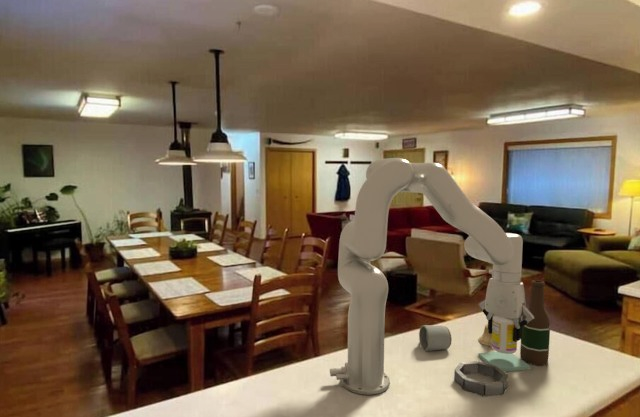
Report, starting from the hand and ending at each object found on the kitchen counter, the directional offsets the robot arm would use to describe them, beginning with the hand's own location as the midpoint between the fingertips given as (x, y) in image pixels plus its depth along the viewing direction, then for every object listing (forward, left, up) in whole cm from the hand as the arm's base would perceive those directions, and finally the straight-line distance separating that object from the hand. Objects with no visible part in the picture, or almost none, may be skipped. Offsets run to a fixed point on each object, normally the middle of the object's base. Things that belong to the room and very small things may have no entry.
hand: (504, 335), depth 120 cm
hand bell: (+5, +14, -8) cm, 17 cm away
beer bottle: (+10, 0, -8) cm, 13 cm away
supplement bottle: (0, 0, -4) cm, 4 cm away
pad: (0, 0, -8) cm, 8 cm away
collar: (-13, -10, -8) cm, 18 cm away
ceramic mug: (-16, +13, -8) cm, 22 cm away
